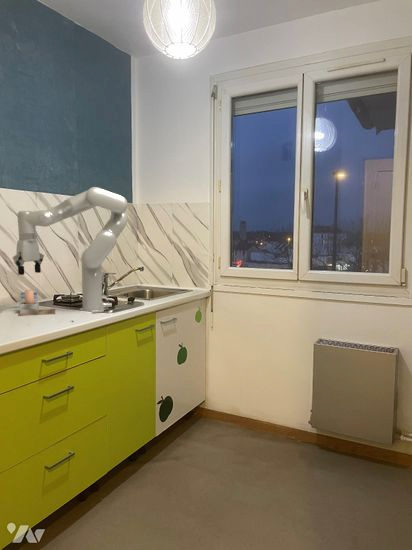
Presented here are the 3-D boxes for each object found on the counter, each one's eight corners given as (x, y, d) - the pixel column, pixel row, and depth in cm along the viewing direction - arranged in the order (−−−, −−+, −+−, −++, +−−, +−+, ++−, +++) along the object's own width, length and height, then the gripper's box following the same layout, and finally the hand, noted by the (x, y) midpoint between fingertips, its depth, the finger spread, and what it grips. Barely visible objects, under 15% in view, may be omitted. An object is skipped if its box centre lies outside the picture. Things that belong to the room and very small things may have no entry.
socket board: (55, 311, 204) (55, 300, 204) (55, 316, 191) (55, 305, 191) (20, 313, 199) (19, 302, 198) (17, 318, 186) (17, 307, 185)
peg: (34, 310, 199) (33, 290, 198) (34, 311, 195) (33, 290, 194) (25, 311, 198) (24, 290, 197) (25, 312, 194) (24, 291, 193)
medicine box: (20, 310, 207) (20, 293, 206) (21, 308, 211) (20, 291, 210) (37, 309, 209) (37, 292, 209) (37, 307, 214) (37, 291, 213)
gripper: (36, 237, 202) (38, 271, 204) (6, 237, 187) (8, 275, 188) (47, 237, 199) (49, 272, 201) (18, 237, 184) (20, 275, 185)
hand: (29, 273), depth 195 cm, fingers open, 9 cm apart
